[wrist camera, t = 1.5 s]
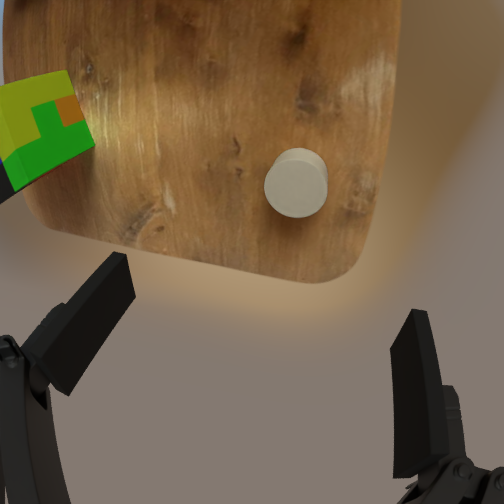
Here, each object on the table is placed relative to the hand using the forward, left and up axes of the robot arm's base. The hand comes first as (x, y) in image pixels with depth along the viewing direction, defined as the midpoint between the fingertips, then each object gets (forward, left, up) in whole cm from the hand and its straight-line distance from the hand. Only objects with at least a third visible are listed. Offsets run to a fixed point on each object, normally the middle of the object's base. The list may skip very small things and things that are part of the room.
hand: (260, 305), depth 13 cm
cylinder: (0, 0, -16) cm, 16 cm away
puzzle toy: (+28, -4, -17) cm, 33 cm away
